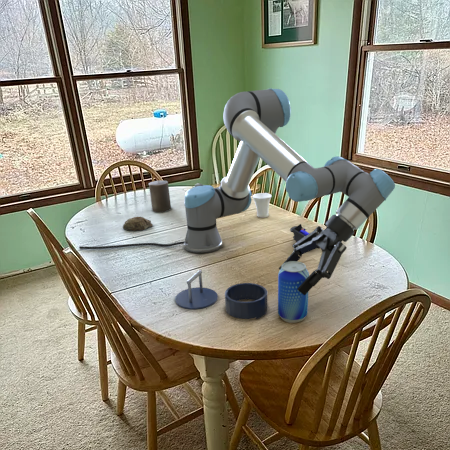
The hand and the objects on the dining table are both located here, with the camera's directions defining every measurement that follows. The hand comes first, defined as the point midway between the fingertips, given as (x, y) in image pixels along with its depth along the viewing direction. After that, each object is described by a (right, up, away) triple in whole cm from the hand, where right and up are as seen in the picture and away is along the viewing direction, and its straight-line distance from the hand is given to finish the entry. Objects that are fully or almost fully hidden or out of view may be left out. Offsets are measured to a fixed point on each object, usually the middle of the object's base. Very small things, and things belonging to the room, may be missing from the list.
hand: (290, 281), depth 122 cm
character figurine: (+13, +16, +52) cm, 56 cm away
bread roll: (-58, +29, +82) cm, 104 cm away
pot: (-12, -8, +10) cm, 18 cm away
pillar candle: (-51, +41, +104) cm, 123 cm away
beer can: (+1, -10, +6) cm, 12 cm away
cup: (-1, +35, +87) cm, 93 cm away
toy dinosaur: (-31, +46, +112) cm, 125 cm away
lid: (-27, -5, +17) cm, 32 cm away
